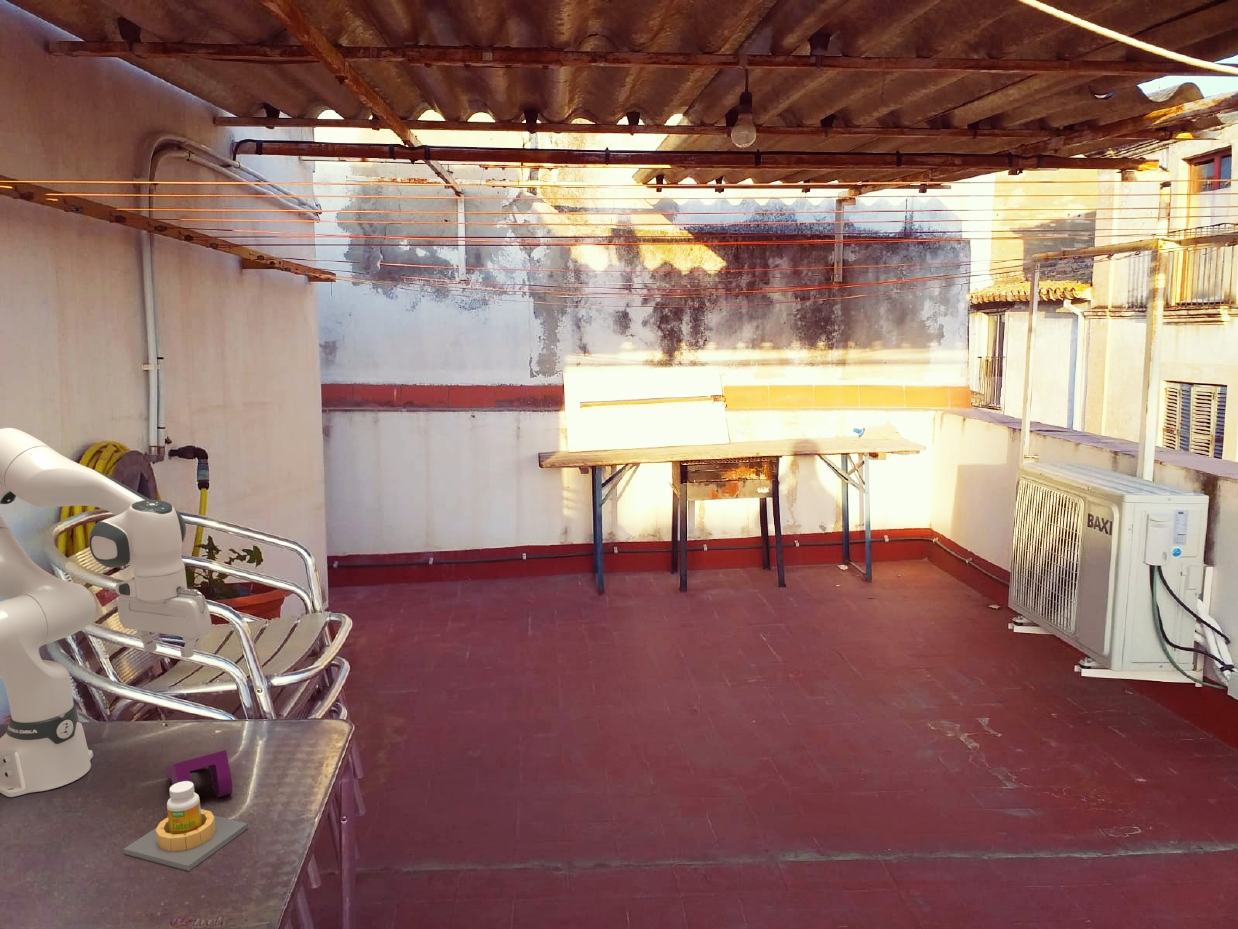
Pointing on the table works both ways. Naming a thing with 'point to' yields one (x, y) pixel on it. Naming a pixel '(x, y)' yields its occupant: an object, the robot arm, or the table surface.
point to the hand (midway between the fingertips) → (169, 653)
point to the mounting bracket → (213, 761)
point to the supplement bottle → (183, 808)
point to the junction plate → (188, 855)
